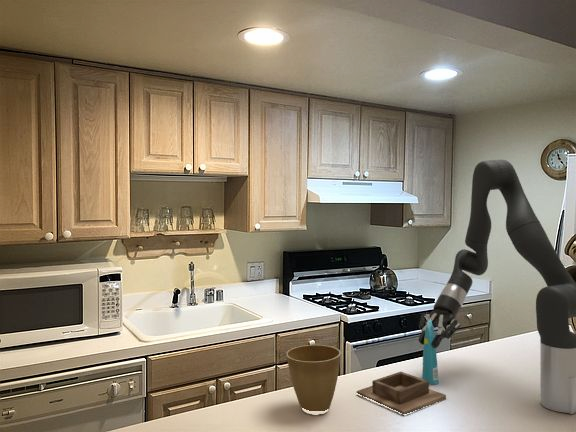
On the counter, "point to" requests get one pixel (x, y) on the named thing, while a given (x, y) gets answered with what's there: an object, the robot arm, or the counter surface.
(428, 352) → the tube
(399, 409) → the socket board
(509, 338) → the counter surface
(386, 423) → the counter surface
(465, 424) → the counter surface
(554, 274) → the robot arm
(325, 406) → the plant pot
